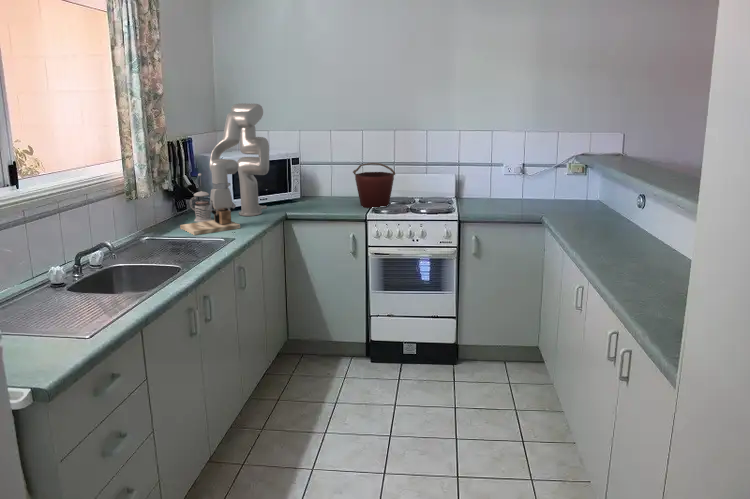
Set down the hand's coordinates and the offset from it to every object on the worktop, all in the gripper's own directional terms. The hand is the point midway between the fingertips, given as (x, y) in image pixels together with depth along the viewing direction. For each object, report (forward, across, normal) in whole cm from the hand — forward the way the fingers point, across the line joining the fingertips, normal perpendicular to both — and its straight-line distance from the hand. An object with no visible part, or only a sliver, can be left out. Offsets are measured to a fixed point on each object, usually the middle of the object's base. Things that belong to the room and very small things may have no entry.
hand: (222, 221), depth 316 cm
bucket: (+3, -94, +4) cm, 94 cm away
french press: (+3, +2, -23) cm, 23 cm away
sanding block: (+1, 0, 0) cm, 1 cm away
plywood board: (+3, +7, 0) cm, 7 cm away
